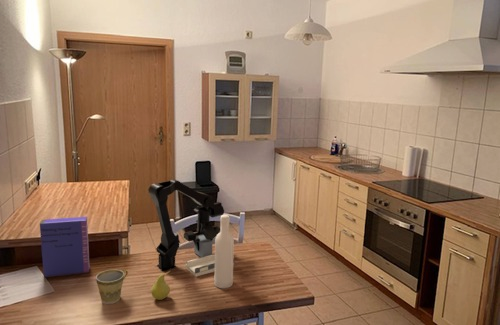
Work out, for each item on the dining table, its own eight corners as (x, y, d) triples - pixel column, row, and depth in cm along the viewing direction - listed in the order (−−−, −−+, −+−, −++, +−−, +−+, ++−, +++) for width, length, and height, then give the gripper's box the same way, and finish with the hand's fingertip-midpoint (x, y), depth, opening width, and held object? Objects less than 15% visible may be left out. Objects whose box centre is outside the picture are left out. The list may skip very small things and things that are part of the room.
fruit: (154, 293, 148) (153, 265, 146) (173, 294, 148) (173, 266, 146) (149, 302, 142) (148, 273, 139) (169, 303, 141) (168, 274, 139)
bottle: (236, 281, 159) (238, 214, 153) (227, 290, 152) (229, 220, 146) (219, 277, 162) (221, 211, 156) (210, 285, 155) (211, 217, 149)
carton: (203, 259, 178) (203, 243, 176) (194, 252, 185) (194, 236, 184) (212, 256, 181) (212, 241, 179) (203, 249, 188) (203, 234, 186)
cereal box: (89, 267, 167) (87, 216, 163) (88, 272, 163) (85, 219, 158) (46, 272, 162) (42, 219, 157) (43, 277, 157) (39, 223, 153)
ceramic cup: (108, 310, 136) (107, 284, 134) (91, 301, 141) (90, 276, 139) (136, 294, 147) (135, 270, 145) (119, 286, 152) (118, 263, 150)
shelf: (195, 276, 162) (195, 269, 161) (185, 267, 170) (185, 260, 169) (234, 265, 174) (234, 258, 173) (222, 257, 182) (222, 250, 181)
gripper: (194, 228, 168) (193, 260, 171) (229, 220, 179) (228, 251, 182) (183, 220, 177) (183, 251, 180) (217, 214, 187) (216, 243, 190)
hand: (203, 249), depth 183 cm, fingers closed on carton, 5 cm apart
